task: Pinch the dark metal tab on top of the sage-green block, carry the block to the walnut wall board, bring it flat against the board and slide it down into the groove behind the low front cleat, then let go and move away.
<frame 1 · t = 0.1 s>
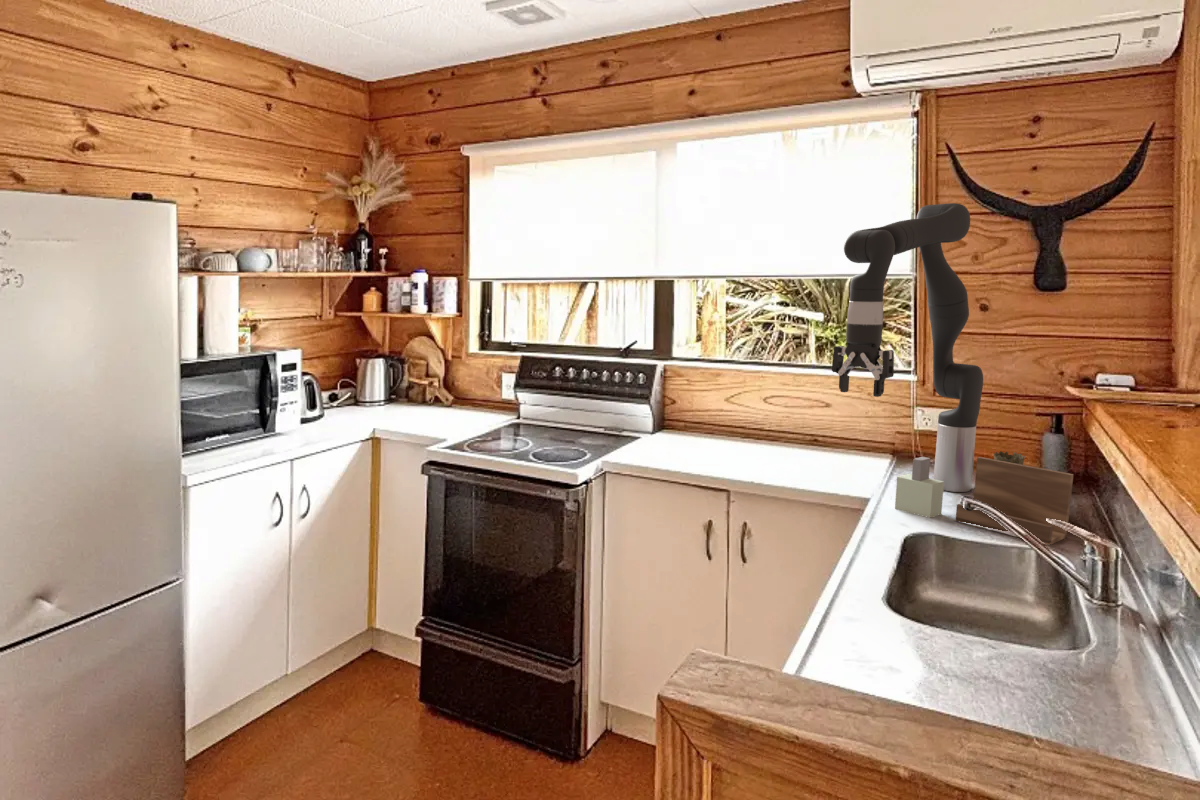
hand: (860, 394, 173), 29 cm above the countertop, tool pointing down, fingers open, 8 cm apart
tab block: (917, 511, 183), on the countertop
cup: (1006, 483, 211), on the countertop
cleat rack: (1009, 529, 170), on the countertop
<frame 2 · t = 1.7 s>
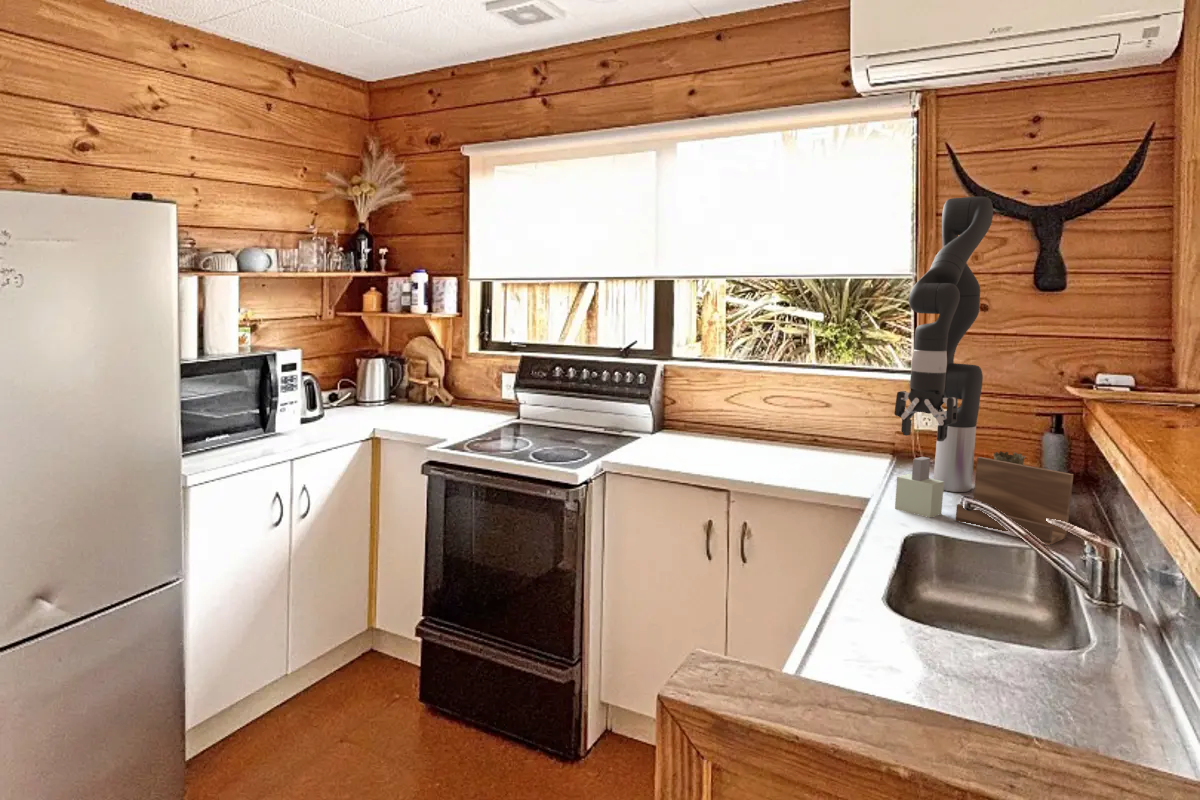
hand: (923, 437, 181), 18 cm above the countertop, tool pointing down, fingers open, 8 cm apart
nothing on the countertop moved.
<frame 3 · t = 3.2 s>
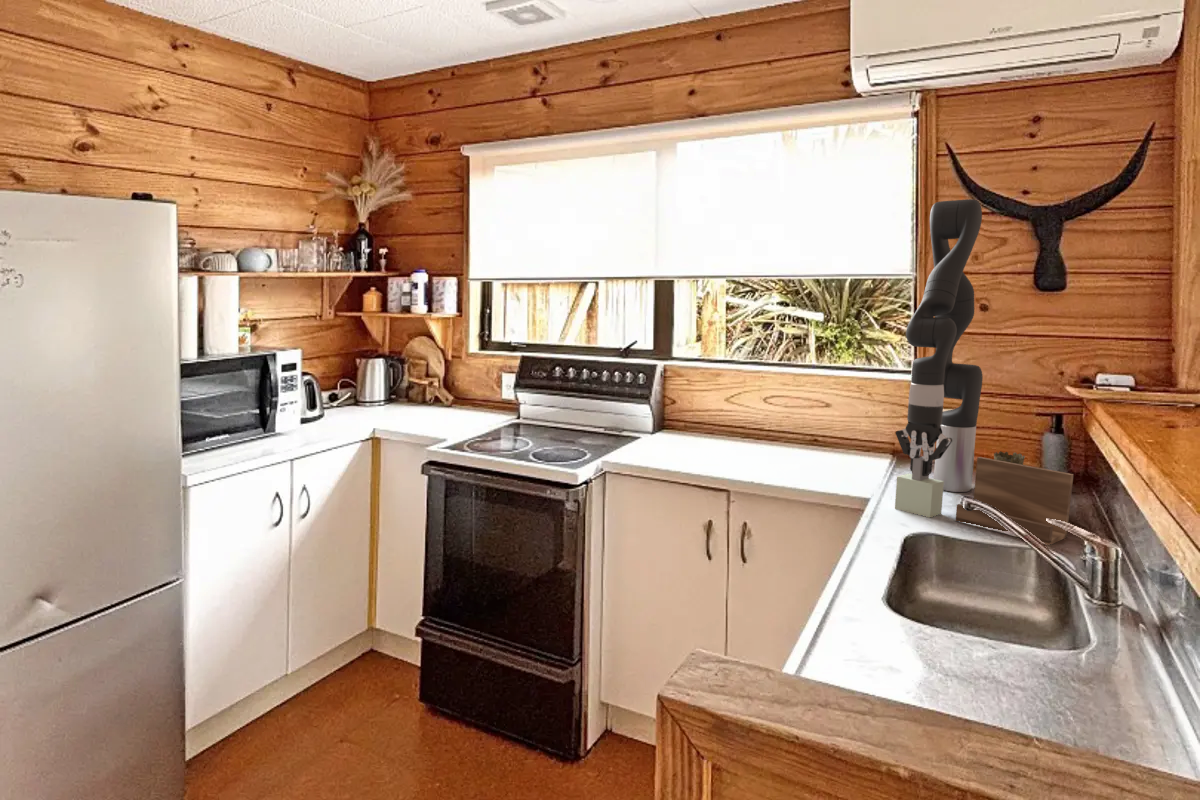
hand: (920, 474, 182), 9 cm above the countertop, tool pointing down, fingers closed on tab block
tab block: (917, 511, 183), on the countertop, touching gripper
everything else where it was.
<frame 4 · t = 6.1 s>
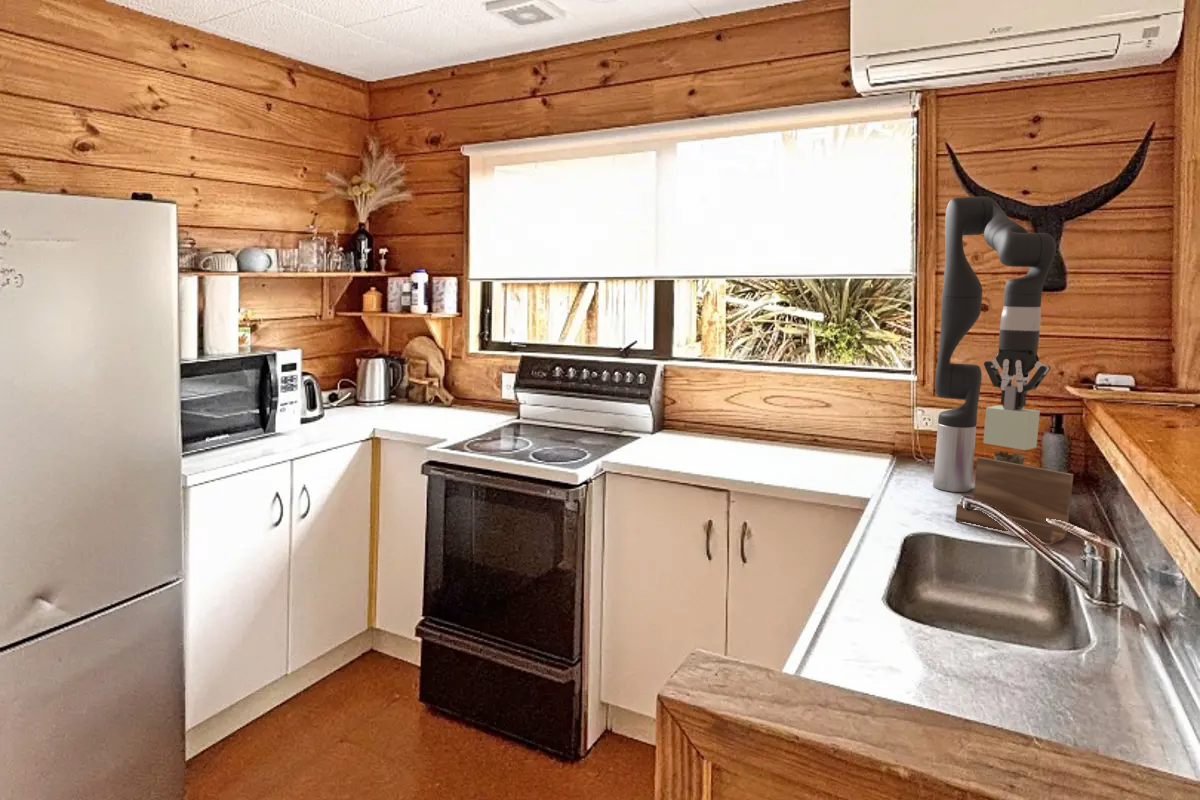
hand: (1012, 407, 166), 27 cm above the countertop, tool pointing down, fingers closed on tab block
tab block: (1009, 445, 168), point 19 cm above the countertop, touching gripper
everything else where it was.
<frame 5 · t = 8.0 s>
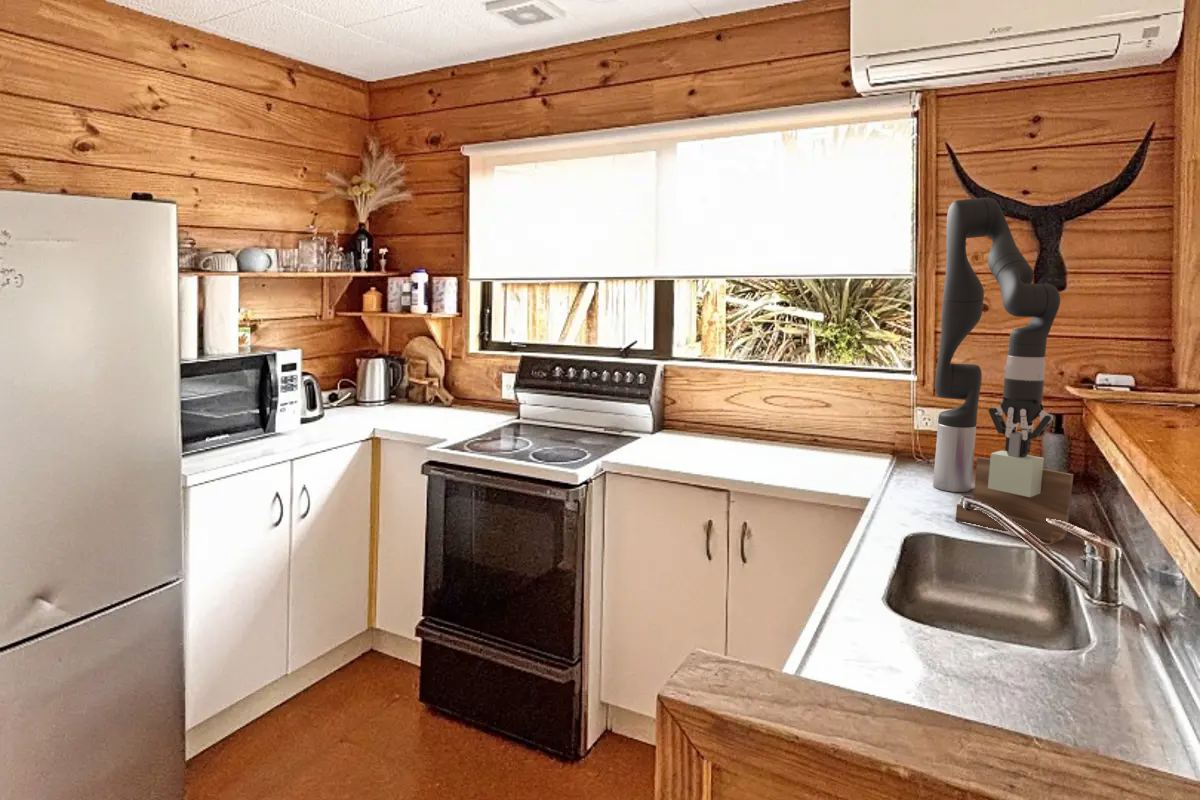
hand: (1016, 454, 168), 17 cm above the countertop, tool pointing down, fingers closed on tab block
tab block: (1013, 490, 169), point 9 cm above the countertop, touching gripper
everything else where it was.
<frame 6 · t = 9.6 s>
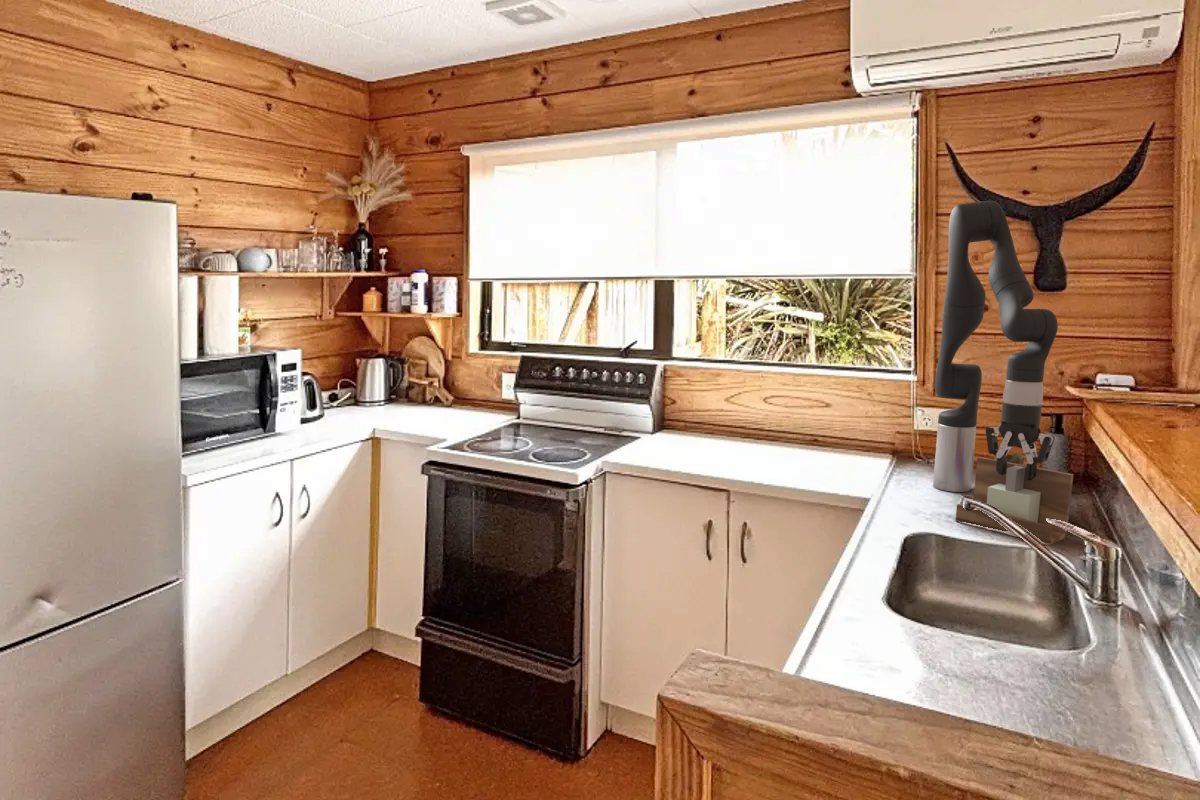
hand: (1015, 476, 169), 12 cm above the countertop, tool pointing down, fingers open, 5 cm apart
tab block: (1010, 524, 171), point 1 cm above the countertop, touching cleat rack
everything else where it was.
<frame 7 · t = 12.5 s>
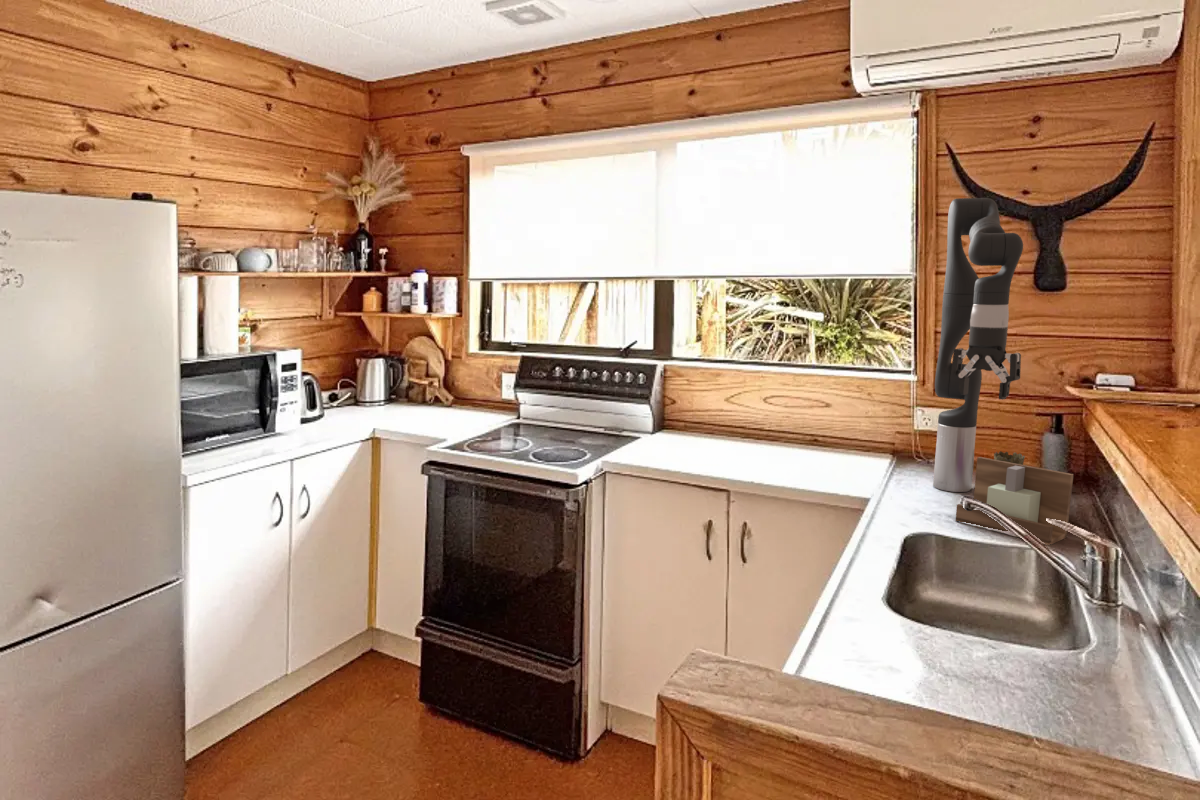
hand: (982, 396, 173), 29 cm above the countertop, tool pointing down, fingers open, 8 cm apart
nothing on the countertop moved.
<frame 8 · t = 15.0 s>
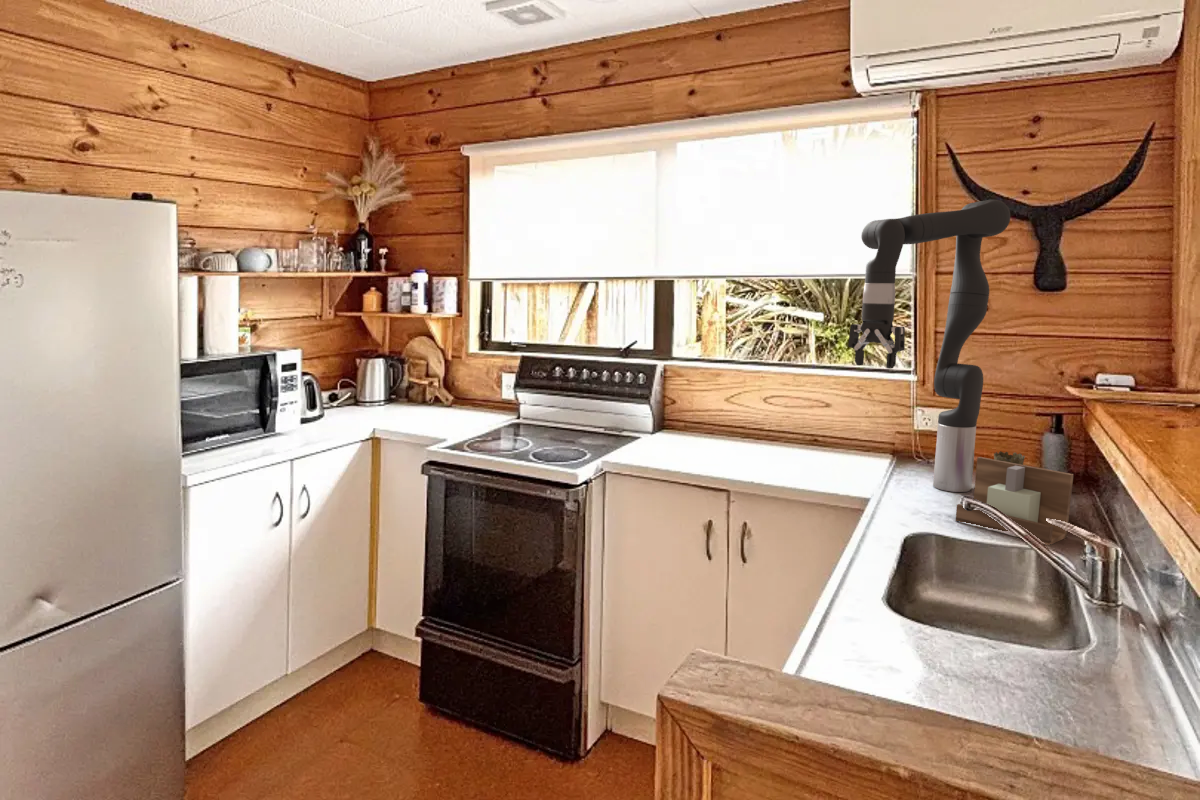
hand: (874, 366, 193), 33 cm above the countertop, tool pointing down, fingers open, 8 cm apart
nothing on the countertop moved.
at the end: tab block inside the target area on the cleat rack (0.5 cm from its centre), point 1.0 cm above the cleat rack's base; tab block tilted 0°; the gripper is holding nothing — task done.
